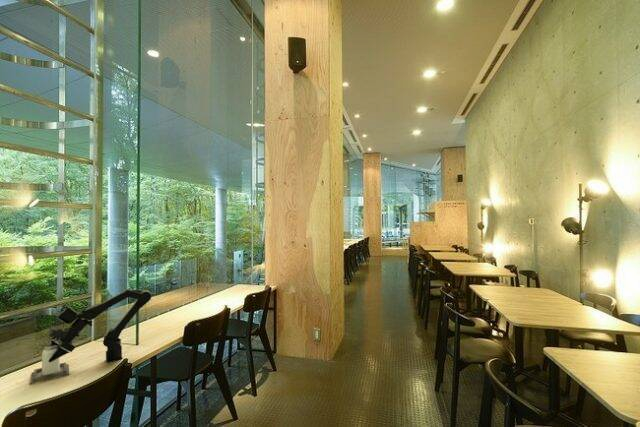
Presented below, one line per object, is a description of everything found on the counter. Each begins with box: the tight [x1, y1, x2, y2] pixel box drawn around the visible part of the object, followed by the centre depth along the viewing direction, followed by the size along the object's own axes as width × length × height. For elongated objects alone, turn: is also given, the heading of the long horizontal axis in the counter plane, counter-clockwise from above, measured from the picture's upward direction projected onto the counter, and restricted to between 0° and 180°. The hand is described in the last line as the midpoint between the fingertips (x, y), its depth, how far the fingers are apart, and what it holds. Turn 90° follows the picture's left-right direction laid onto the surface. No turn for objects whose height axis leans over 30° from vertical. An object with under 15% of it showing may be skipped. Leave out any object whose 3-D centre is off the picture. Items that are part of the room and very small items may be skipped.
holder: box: [29, 362, 70, 386], centre depth 154 cm, size 14×14×2 cm
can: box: [41, 345, 61, 375], centre depth 154 cm, size 6×6×12 cm
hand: (46, 359), depth 153 cm, fingers open, 9 cm apart
